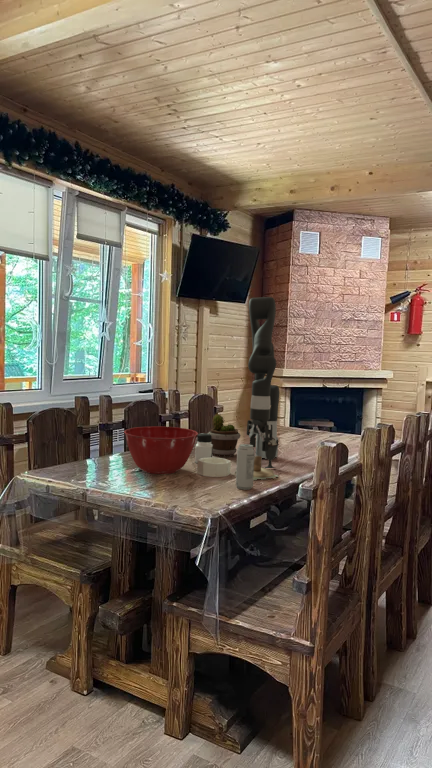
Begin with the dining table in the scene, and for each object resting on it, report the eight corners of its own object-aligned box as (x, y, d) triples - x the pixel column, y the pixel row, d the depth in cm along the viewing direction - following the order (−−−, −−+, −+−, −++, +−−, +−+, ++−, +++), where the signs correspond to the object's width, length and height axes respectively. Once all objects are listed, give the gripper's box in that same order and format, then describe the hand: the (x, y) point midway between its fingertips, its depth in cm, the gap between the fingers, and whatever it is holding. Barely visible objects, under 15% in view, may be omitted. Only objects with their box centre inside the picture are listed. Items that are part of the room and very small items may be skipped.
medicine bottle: (211, 463, 233) (212, 435, 232) (194, 462, 233) (195, 434, 232) (212, 460, 240) (213, 433, 239) (195, 459, 240) (196, 432, 239)
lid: (261, 469, 222) (262, 452, 221) (280, 476, 210) (281, 458, 210) (233, 471, 215) (234, 454, 215) (251, 478, 204) (252, 460, 204)
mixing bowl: (186, 481, 198) (187, 439, 197) (111, 474, 204) (112, 433, 203) (203, 466, 226) (205, 429, 225) (137, 461, 231) (138, 424, 231)
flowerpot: (245, 455, 256) (247, 412, 255) (228, 459, 243) (230, 414, 242) (218, 450, 264) (220, 409, 263) (200, 455, 251) (202, 411, 250)
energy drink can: (242, 484, 197) (244, 443, 196) (256, 488, 193) (258, 445, 192) (232, 487, 192) (234, 444, 191) (246, 490, 188) (248, 447, 187)
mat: (261, 471, 221) (261, 469, 221) (278, 478, 210) (278, 475, 210) (235, 473, 215) (235, 471, 215) (252, 480, 205) (252, 478, 205)
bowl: (219, 469, 222) (220, 456, 222) (234, 475, 212) (235, 462, 211) (193, 471, 216) (193, 458, 216) (207, 477, 206) (207, 464, 205)
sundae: (259, 468, 226) (261, 432, 226) (265, 466, 232) (267, 430, 232) (274, 470, 223) (276, 434, 222) (280, 468, 229) (282, 432, 228)
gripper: (279, 409, 207) (277, 452, 208) (258, 405, 219) (256, 445, 220) (262, 409, 203) (260, 453, 204) (242, 405, 216) (240, 446, 217)
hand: (258, 449), depth 212 cm, fingers open, 8 cm apart
